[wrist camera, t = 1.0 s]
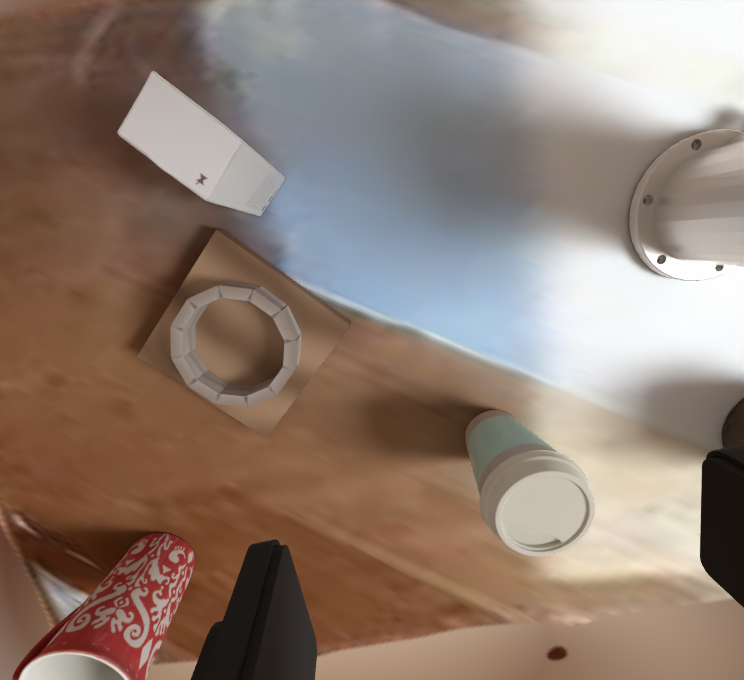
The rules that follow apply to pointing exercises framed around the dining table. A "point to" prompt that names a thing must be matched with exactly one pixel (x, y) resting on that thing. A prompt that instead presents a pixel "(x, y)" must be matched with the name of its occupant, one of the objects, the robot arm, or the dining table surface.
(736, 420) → the pillar candle
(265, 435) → the ring stand
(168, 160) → the skincare box
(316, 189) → the dining table surface
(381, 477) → the dining table surface
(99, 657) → the mug
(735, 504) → the robot arm
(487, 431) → the coffee cup
